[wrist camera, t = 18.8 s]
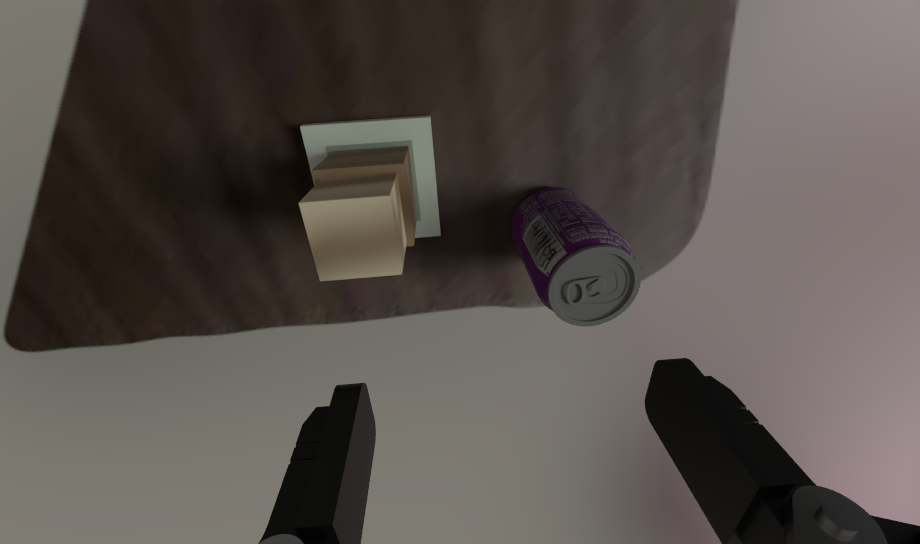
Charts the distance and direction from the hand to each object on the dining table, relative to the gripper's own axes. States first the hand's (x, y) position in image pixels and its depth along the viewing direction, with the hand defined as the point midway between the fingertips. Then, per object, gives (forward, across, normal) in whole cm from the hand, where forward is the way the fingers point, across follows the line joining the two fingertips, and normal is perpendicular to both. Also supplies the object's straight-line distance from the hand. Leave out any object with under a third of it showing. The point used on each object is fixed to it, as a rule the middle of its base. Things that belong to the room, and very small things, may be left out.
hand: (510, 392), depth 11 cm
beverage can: (+26, -8, +6) cm, 27 cm away
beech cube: (+18, +7, +1) cm, 19 cm away
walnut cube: (+24, +7, +1) cm, 25 cm away
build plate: (+25, +7, +1) cm, 26 cm away
